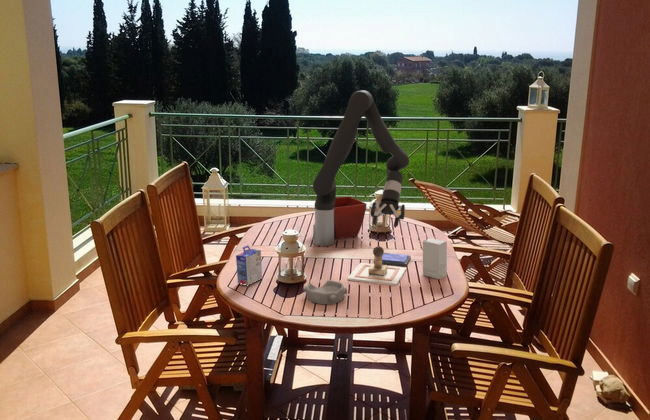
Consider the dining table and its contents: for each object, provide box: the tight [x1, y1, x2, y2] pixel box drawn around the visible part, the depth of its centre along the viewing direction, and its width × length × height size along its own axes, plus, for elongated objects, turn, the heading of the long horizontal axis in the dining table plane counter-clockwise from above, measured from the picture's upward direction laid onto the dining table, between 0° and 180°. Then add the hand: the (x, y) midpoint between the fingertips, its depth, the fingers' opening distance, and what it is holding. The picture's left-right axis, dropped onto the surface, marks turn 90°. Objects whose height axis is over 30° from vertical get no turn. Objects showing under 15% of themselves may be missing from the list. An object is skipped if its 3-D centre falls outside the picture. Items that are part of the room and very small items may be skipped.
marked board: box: [346, 262, 407, 286], centre depth 257 cm, size 20×20×1 cm
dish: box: [303, 280, 348, 305], centre depth 232 cm, size 14×14×5 cm
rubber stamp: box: [368, 245, 389, 276], centre depth 256 cm, size 6×6×11 cm
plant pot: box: [334, 196, 367, 240], centre depth 312 cm, size 19×19×17 cm
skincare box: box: [422, 237, 448, 280], centre depth 255 cm, size 8×6×15 cm
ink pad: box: [382, 252, 412, 268], centre depth 274 cm, size 14×11×2 cm
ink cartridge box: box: [235, 245, 263, 285], centre depth 248 cm, size 10×6×14 cm, turn 149°
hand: (384, 225), depth 264 cm, fingers open, 8 cm apart
